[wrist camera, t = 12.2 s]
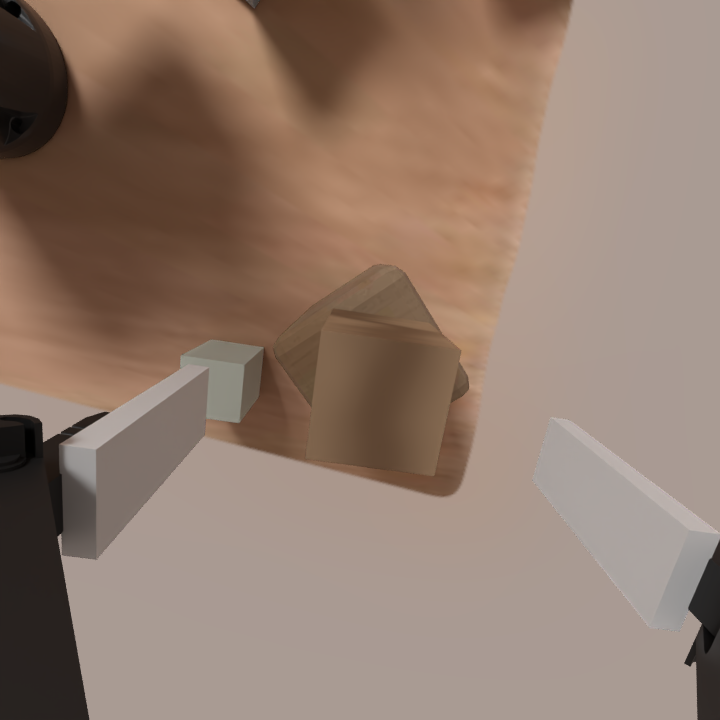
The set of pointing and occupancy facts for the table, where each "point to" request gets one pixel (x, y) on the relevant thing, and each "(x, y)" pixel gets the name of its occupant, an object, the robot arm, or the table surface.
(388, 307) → the wooden block
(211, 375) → the sage block
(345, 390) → the walnut block
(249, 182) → the table surface
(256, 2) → the placard
